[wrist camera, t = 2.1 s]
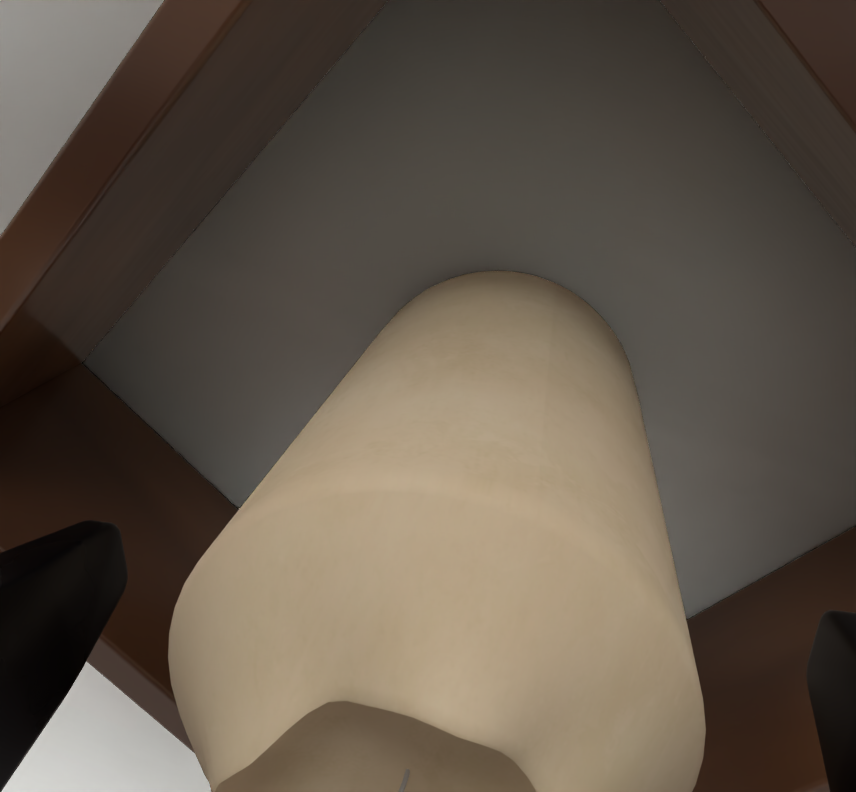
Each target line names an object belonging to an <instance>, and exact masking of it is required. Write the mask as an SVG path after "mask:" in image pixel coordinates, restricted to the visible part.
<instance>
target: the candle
mask: <svg viewBox="0 0 856 792" xmlns="http://www.w3.org/2000/svg"><path fill="white" fill-rule="evenodd" d="M168 662H169V671H170V679H171V686H172V689H173V693H174V697H175V700H176V704H177V708H178V711H179V714H180V717H181V720H182V722H183V725H184V728H185V731H186V733H187V735H188V738H189V740H190V742H191V745H192V747H193V750H194V752H195V754H196V757H197V759H198V761H199V763H200V765H201V768H202V770H203V772H204V774H205V776H206V778H207V780H208V781H209V784H210V788H211V792H692V791H693V789H694V787H695V785H696V782H697V778H698V775H699V771H700V768H701V764H702V761H703V756H704V745H705V734H706V725H705V714H704V703H703V697H702V692H701V687H700V682H699V677H698V672H697V668H696V663H695V658H694V654H693V649H692V644H691V640H690V635H689V630H688V626H687V621H686V616H685V612H684V607H683V602H682V598H681V593H680V588H679V584H678V579H677V574H676V570H675V565H674V560H673V556H672V551H671V547H670V542H669V537H668V533H667V528H666V523H665V519H664V514H663V509H662V505H661V500H660V495H659V491H658V486H657V481H656V477H655V472H654V468H653V463H652V458H651V454H650V449H649V444H648V440H647V435H646V430H645V426H644V421H643V416H642V412H641V407H640V402H639V398H638V393H637V390H636V386H635V382H634V378H633V375H632V371H631V367H630V364H629V361H628V359H627V356H626V354H625V352H624V349H623V347H622V345H621V343H620V342H619V340H618V339H617V337H616V335H615V334H614V332H613V330H612V329H611V328H610V327H609V326H608V324H607V323H606V322H605V321H604V319H603V318H602V317H601V316H600V315H599V314H598V313H597V312H596V311H595V310H594V309H593V308H592V307H591V306H590V305H589V304H588V303H586V302H585V301H584V300H583V299H581V298H580V297H578V296H577V295H575V294H574V293H573V292H571V291H569V290H568V289H566V288H564V287H562V286H560V285H558V284H556V283H554V282H551V281H549V280H546V279H543V278H540V277H538V276H534V275H529V274H525V273H520V272H511V271H481V272H475V273H469V274H464V275H461V276H458V277H454V278H451V279H448V280H445V281H443V282H441V283H439V284H437V285H435V286H432V287H430V288H428V289H427V290H425V291H424V292H422V293H420V294H419V295H417V296H416V297H414V298H413V299H412V300H411V301H409V302H408V303H407V304H406V305H405V306H403V307H402V308H401V309H400V310H399V311H398V313H397V314H396V315H395V316H394V317H393V318H392V319H391V320H390V322H389V323H388V324H387V325H386V326H385V327H384V328H383V329H382V331H381V332H380V333H379V334H378V335H377V337H376V338H375V339H374V340H373V342H372V343H371V344H370V345H369V347H368V348H367V349H366V350H365V352H364V353H363V354H362V355H361V357H360V358H359V359H358V360H357V362H356V363H355V364H354V365H353V367H352V368H351V369H350V371H349V372H348V373H347V374H346V376H345V377H344V378H343V379H342V381H341V382H340V383H339V384H338V386H337V387H336V388H335V389H334V391H333V392H332V393H331V394H330V396H329V397H328V398H327V399H326V401H325V402H324V403H323V404H322V406H321V407H320V408H319V410H318V411H317V412H316V413H315V415H314V416H313V417H312V418H311V420H310V421H309V422H308V423H307V425H306V426H305V427H304V428H303V430H302V431H301V432H300V433H299V435H298V436H297V437H296V438H295V440H294V441H293V442H292V443H291V445H290V446H289V447H288V449H287V450H286V451H285V452H284V454H283V455H282V456H281V457H280V459H279V460H278V461H277V462H276V464H275V465H274V466H273V467H272V469H271V470H270V471H269V472H268V474H267V475H266V476H265V477H264V479H263V480H262V481H261V482H260V484H259V485H258V486H257V488H256V489H255V490H254V491H253V493H252V494H251V495H250V496H249V498H248V499H247V500H246V501H245V503H244V504H243V505H242V506H241V508H240V509H239V510H238V511H237V513H236V514H235V515H234V517H233V518H232V519H231V520H230V522H229V523H228V524H227V525H226V527H225V528H224V529H223V530H222V532H221V533H220V534H219V535H218V537H217V538H216V539H215V540H214V542H213V543H212V544H211V546H210V547H209V548H208V549H207V551H206V552H205V553H204V555H203V556H202V557H201V558H200V560H199V561H198V563H197V564H196V566H195V567H194V569H193V571H192V572H191V574H190V575H189V577H188V578H187V580H186V582H185V583H184V586H183V588H182V591H181V593H180V595H179V598H178V600H177V603H176V605H175V608H174V612H173V617H172V622H171V626H170V631H169V647H168Z"/></svg>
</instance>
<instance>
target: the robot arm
mask: <svg viewBox="0 0 856 792" xmlns="http://www.w3.org/2000/svg"><path fill="white" fill-rule="evenodd" d="M127 580H128V570H127V564H126V559H125V553H124V548H123V542H122V537H121V532H120V530H119V528H118V527H117V525H115V524H113V523H110V522H102V521H94V520H86V521H82V522H80V523H77V524H74V525H72V526H69V527H67V528H64V529H61V530H59V531H56V532H54V533H51V534H48V535H46V536H43V537H41V538H38V539H35V540H33V541H30V542H28V543H25V544H22V545H20V546H17V547H15V548H12V549H9V550H7V551H4V552H2V553H0V792H1V791H2V790H3V788H4V787H5V785H6V784H7V782H8V781H9V779H10V778H11V776H12V775H13V773H14V772H15V770H16V769H17V767H18V766H19V764H20V763H21V762H22V760H23V759H24V757H25V756H26V754H27V753H28V751H29V750H30V748H31V747H32V745H33V744H34V742H35V741H36V739H37V738H38V737H39V735H40V734H41V732H42V731H43V729H44V728H45V726H46V725H47V723H48V722H49V720H50V719H51V717H52V716H53V714H54V713H55V712H56V710H57V709H58V707H59V706H60V704H61V703H62V701H63V699H64V698H65V696H66V695H67V693H68V692H69V690H70V689H71V687H72V685H73V683H74V682H75V680H76V678H77V677H78V675H79V673H80V672H81V670H82V668H83V666H84V664H85V662H86V661H87V659H88V657H89V655H90V653H91V651H92V650H93V648H94V646H95V644H96V642H97V640H98V639H99V637H100V635H101V633H102V631H103V630H104V628H105V626H106V624H107V622H108V620H109V619H110V617H111V615H112V613H113V611H114V609H115V608H116V606H117V604H118V602H119V600H120V598H121V597H122V595H123V593H124V591H125V588H126V585H127ZM807 685H808V690H809V695H810V700H811V704H812V709H813V714H814V718H815V723H816V728H817V733H818V737H819V742H820V747H821V751H822V756H823V761H824V766H825V770H826V775H827V780H828V784H829V789H830V792H856V613H855V612H847V611H838V610H828V611H826V612H824V613H823V615H822V616H821V618H820V621H819V624H818V628H817V631H816V635H815V638H814V642H813V645H812V649H811V652H810V656H809V659H808V663H807Z"/></svg>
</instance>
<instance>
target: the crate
mask: <svg viewBox="0 0 856 792" xmlns="http://www.w3.org/2000/svg"><path fill="white" fill-rule="evenodd" d="M388 1H389V0H164V2H163V3H162V4H161V6H160V7H159V9H158V10H157V12H156V13H155V15H154V16H153V17H152V19H151V20H150V22H149V23H148V25H147V26H146V27H145V29H144V30H143V32H142V33H141V35H140V36H139V38H138V39H137V40H136V42H135V43H134V45H133V46H132V48H131V49H130V51H129V52H128V53H127V55H126V56H125V58H124V59H123V61H122V62H121V63H120V65H119V66H118V68H117V69H116V71H115V72H114V74H113V75H112V76H111V78H110V79H109V81H108V82H107V84H106V85H105V86H104V88H103V89H102V91H101V92H100V94H99V95H98V97H97V98H96V99H95V101H94V102H93V104H92V105H91V107H90V108H89V110H88V111H87V112H86V114H85V115H84V117H83V118H82V120H81V121H80V122H79V124H78V125H77V127H76V128H75V130H74V131H73V133H72V134H71V135H70V137H69V138H68V140H67V141H66V143H65V144H64V146H63V147H62V148H61V150H60V151H59V153H58V154H57V156H56V157H55V158H54V160H53V161H52V163H51V164H50V166H49V167H48V169H47V170H46V171H45V173H44V174H43V176H42V177H41V179H40V180H39V182H38V183H37V184H36V186H35V187H34V189H33V190H32V192H31V193H30V194H29V196H28V197H27V199H26V200H25V202H24V203H23V205H22V206H21V207H20V209H19V210H18V212H17V213H16V215H15V216H14V217H13V219H12V220H11V222H10V223H9V225H8V226H7V228H6V229H5V230H4V232H3V233H2V235H1V236H0V553H2V552H4V551H7V550H9V549H12V548H15V547H17V546H20V545H22V544H25V543H28V542H30V541H33V540H35V539H38V538H41V537H43V536H46V535H48V534H51V533H54V532H56V531H59V530H61V529H64V528H67V527H69V526H72V525H74V524H77V523H80V522H82V521H86V520H94V521H102V522H110V523H113V524H115V525H117V527H118V528H119V530H120V532H121V537H122V542H123V548H124V553H125V559H126V564H127V570H128V580H127V585H126V588H125V591H124V593H123V595H122V597H121V598H120V600H119V602H118V604H117V606H116V608H115V609H114V611H113V613H112V615H111V617H110V619H109V620H108V622H107V624H106V626H105V628H104V630H103V631H102V633H101V635H100V637H99V639H98V640H97V642H96V644H95V646H94V648H93V650H92V651H91V653H90V655H89V657H88V659H87V662H88V663H89V664H90V665H91V666H93V667H94V668H95V669H96V670H97V671H98V672H100V673H101V674H102V675H103V676H104V677H106V678H107V679H108V680H109V681H110V682H111V683H113V684H114V685H115V686H116V687H117V688H119V689H120V690H121V691H122V692H123V693H124V694H126V695H127V696H128V697H129V698H130V699H131V700H133V701H134V702H135V703H136V704H137V705H139V706H140V707H141V708H142V709H143V710H144V711H146V712H147V713H148V714H149V715H150V716H151V717H153V718H154V719H155V720H156V721H157V722H159V723H160V724H161V725H162V726H163V727H164V728H166V729H167V730H168V731H169V732H170V733H171V734H173V735H174V736H175V737H176V738H177V739H179V740H180V741H181V742H182V743H183V744H184V745H186V746H187V747H188V748H189V749H190V750H192V751H193V752H194V750H193V747H192V745H191V742H190V740H189V738H188V735H187V733H186V731H185V728H184V725H183V722H182V720H181V717H180V714H179V711H178V708H177V704H176V700H175V697H174V693H173V689H172V686H171V679H170V671H169V662H168V647H169V631H170V626H171V622H172V617H173V612H174V608H175V605H176V603H177V600H178V598H179V595H180V593H181V591H182V588H183V586H184V583H185V582H186V580H187V578H188V577H189V575H190V574H191V572H192V571H193V569H194V567H195V566H196V564H197V563H198V561H199V560H200V558H201V557H202V556H203V555H204V553H205V552H206V551H207V549H208V548H209V547H210V546H211V544H212V543H213V542H214V540H215V539H216V538H217V537H218V535H219V534H220V533H221V532H222V530H223V529H224V528H225V527H226V525H227V524H228V523H229V522H230V520H231V519H232V518H233V517H234V515H235V514H236V513H237V511H238V509H237V508H236V507H235V506H234V505H233V504H232V503H231V502H229V501H228V500H227V499H226V498H225V497H224V496H223V495H222V494H221V493H220V492H219V491H218V490H217V489H216V488H215V487H213V486H212V485H211V484H210V483H209V482H208V481H207V480H206V479H205V478H204V477H203V476H202V475H201V474H200V473H199V472H197V471H196V470H195V469H194V468H193V467H192V466H191V465H190V464H189V463H188V462H187V461H186V460H185V459H184V458H183V457H181V456H180V455H179V454H178V453H177V452H176V451H175V450H174V449H173V448H172V447H171V446H170V445H169V444H168V443H166V442H165V441H164V440H163V439H162V438H161V437H160V436H159V435H158V434H157V433H156V432H155V431H154V430H153V429H152V428H150V427H149V426H148V425H147V424H146V423H145V422H144V421H143V420H142V419H141V418H140V417H139V416H138V415H137V414H136V413H134V412H133V411H132V410H131V409H130V408H129V407H128V406H127V405H126V404H125V403H124V402H123V401H122V400H121V399H119V398H118V397H117V396H116V395H115V394H114V393H113V392H112V391H111V390H110V389H109V388H108V387H107V386H106V385H105V384H103V383H102V382H101V381H100V380H99V379H98V378H97V377H96V376H95V375H94V374H93V373H92V372H91V371H90V370H89V369H87V368H86V367H85V366H84V365H83V364H82V363H81V362H83V361H84V360H85V359H86V358H87V356H88V355H89V354H90V353H91V352H92V350H93V349H94V348H95V347H96V346H97V345H98V343H99V342H100V341H101V340H102V339H103V337H104V336H105V335H106V334H107V333H108V332H109V330H110V329H111V328H112V327H113V326H114V324H115V323H116V322H117V321H118V320H119V319H120V317H121V316H122V315H123V314H124V313H125V311H126V310H127V309H128V308H129V307H130V306H131V304H132V303H133V302H134V301H135V300H136V298H137V297H138V296H139V295H140V294H141V293H142V291H143V290H144V289H145V288H146V287H147V285H148V284H149V283H150V282H151V281H152V280H153V278H154V277H155V276H156V275H157V274H158V272H159V271H160V270H161V269H162V268H163V267H164V265H165V264H166V263H167V262H168V261H169V259H170V258H171V257H172V256H173V255H174V254H175V252H176V251H177V250H178V249H179V248H180V246H181V245H182V244H183V243H184V242H185V241H186V239H187V238H188V237H189V236H190V235H191V233H192V232H193V231H194V230H195V229H196V228H197V226H198V225H199V224H200V223H201V222H202V220H203V219H204V218H205V217H206V216H207V215H208V213H209V212H210V211H211V210H212V209H213V207H214V206H215V205H216V204H217V203H218V202H219V200H220V199H221V198H222V197H223V196H224V194H225V193H226V192H227V191H228V190H229V189H230V187H231V186H232V185H233V184H234V183H235V181H236V180H237V179H238V178H239V177H240V176H241V174H242V173H243V172H244V171H245V170H246V168H247V167H248V166H249V165H250V164H251V163H252V161H253V160H254V159H255V158H256V157H257V155H258V154H259V153H260V152H261V151H262V150H263V148H264V147H265V146H266V145H267V144H268V142H269V141H270V140H271V139H272V138H273V137H274V135H275V134H276V133H277V132H278V131H279V129H280V128H281V127H282V126H283V125H284V124H285V122H286V121H287V120H288V119H289V118H290V116H291V115H292V114H293V113H294V112H295V111H296V109H297V108H298V107H299V106H300V105H301V103H302V102H303V101H304V100H305V99H306V98H307V96H308V95H309V94H310V93H311V92H312V90H313V89H314V88H315V87H316V86H317V85H318V83H319V82H320V81H321V80H322V79H323V77H324V76H325V75H326V74H327V73H328V72H329V70H330V69H331V68H332V67H333V66H334V64H335V63H336V62H337V61H338V60H339V59H340V57H341V56H342V55H343V54H344V53H345V51H346V50H347V49H348V48H349V47H350V46H351V44H352V43H353V42H354V41H355V40H356V38H357V37H358V36H359V35H360V34H361V33H362V31H363V30H364V29H365V28H366V27H367V25H368V24H369V23H370V22H371V21H372V20H373V18H374V17H375V16H376V15H377V14H378V12H379V11H380V10H381V9H382V8H383V7H384V5H385V4H386V3H387V2H388ZM659 1H660V2H661V3H662V5H663V6H664V7H665V8H666V10H667V11H668V12H669V13H670V15H671V16H672V17H673V18H674V20H675V21H676V22H677V23H678V25H679V26H680V27H681V28H682V30H683V31H684V32H685V34H686V35H687V36H688V37H689V39H690V40H691V41H692V42H693V44H694V45H695V46H696V47H697V49H698V50H699V51H700V52H701V54H702V55H703V56H704V57H705V59H706V60H707V61H708V62H709V64H710V65H711V66H712V68H713V69H714V70H715V71H716V73H717V74H718V75H719V76H720V78H721V79H722V80H723V81H724V83H725V84H726V85H727V86H728V88H729V89H730V90H731V91H732V93H733V94H734V95H735V96H736V98H737V99H738V100H739V101H740V103H741V104H742V105H743V107H744V108H745V109H746V110H747V112H748V113H749V114H750V115H751V117H752V118H753V119H754V120H755V122H756V123H757V124H758V125H759V127H760V128H761V129H762V130H763V132H764V133H765V134H766V135H767V137H768V138H769V139H770V141H771V142H772V143H773V144H774V146H775V147H776V148H777V149H778V151H779V152H780V153H781V154H782V156H783V157H784V158H785V159H786V161H787V162H788V163H789V164H790V166H791V167H792V168H793V169H794V171H795V172H796V173H797V174H798V176H799V177H800V178H801V180H802V181H803V182H804V183H805V185H806V186H807V187H808V188H809V190H810V191H811V192H812V193H813V195H814V196H815V197H816V198H817V200H818V201H819V202H820V203H821V205H822V206H823V207H824V208H825V210H826V211H827V212H828V213H829V215H830V216H831V217H832V219H833V220H834V221H835V222H836V224H837V225H838V226H839V227H840V229H841V230H842V231H843V232H844V234H845V235H846V236H847V237H848V239H849V240H850V241H851V242H852V244H853V245H854V246H855V247H856V0H659ZM828 610H838V611H847V612H855V613H856V526H855V527H853V528H851V529H850V530H848V531H846V532H844V533H842V534H841V535H839V536H837V537H835V538H833V539H832V540H830V541H828V542H826V543H824V544H823V545H821V546H819V547H817V548H815V549H814V550H812V551H810V552H808V553H806V554H805V555H803V556H801V557H799V558H797V559H796V560H794V561H792V562H790V563H788V564H787V565H785V566H783V567H781V568H779V569H778V570H776V571H774V572H772V573H771V574H769V575H767V576H765V577H763V578H762V579H760V580H758V581H756V582H754V583H753V584H751V585H749V586H747V587H745V588H744V589H742V590H740V591H738V592H736V593H735V594H733V595H731V596H729V597H727V598H726V599H724V600H722V601H720V602H718V603H717V604H715V605H713V606H711V607H709V608H708V609H706V610H704V611H702V612H700V613H699V614H697V615H695V616H693V617H691V618H690V619H688V620H686V621H687V626H688V630H689V635H690V640H691V644H692V649H693V654H694V658H695V663H696V668H697V672H698V677H699V682H700V687H701V692H702V697H703V703H704V714H705V725H706V734H705V745H704V756H703V761H702V764H701V768H700V771H699V775H698V778H697V782H696V785H695V787H694V789H693V791H692V792H830V789H829V784H828V780H827V775H826V770H825V766H824V761H823V756H822V751H821V747H820V742H819V737H818V733H817V728H816V723H815V718H814V714H813V709H812V704H811V700H810V695H809V690H808V685H807V663H808V659H809V656H810V652H811V649H812V645H813V642H814V638H815V635H816V631H817V628H818V624H819V621H820V618H821V616H822V615H823V613H824V612H826V611H828ZM194 753H195V752H194Z"/></svg>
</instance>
